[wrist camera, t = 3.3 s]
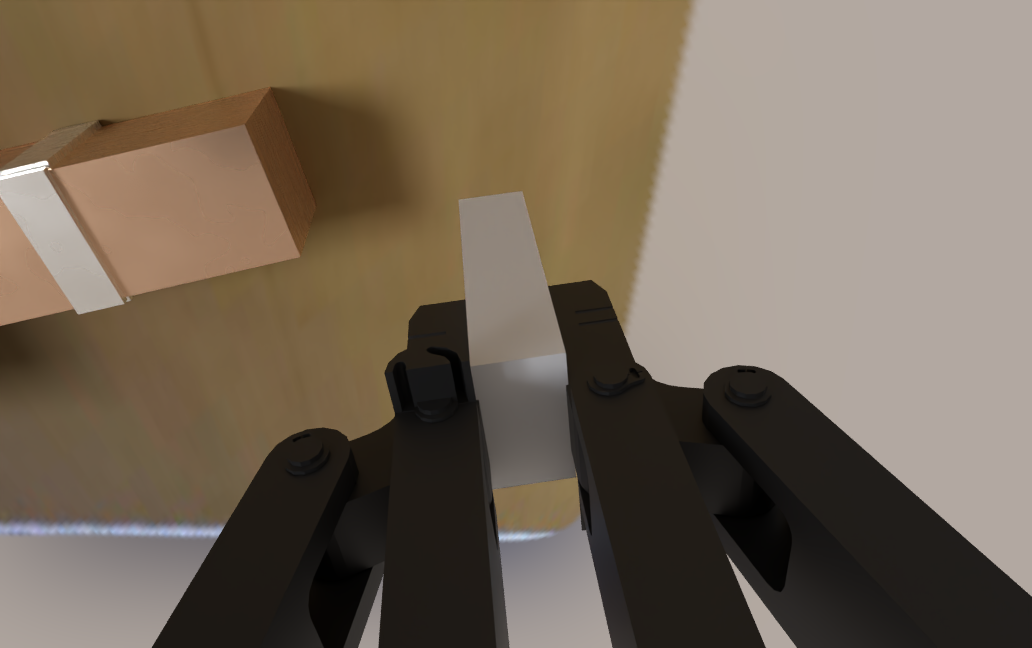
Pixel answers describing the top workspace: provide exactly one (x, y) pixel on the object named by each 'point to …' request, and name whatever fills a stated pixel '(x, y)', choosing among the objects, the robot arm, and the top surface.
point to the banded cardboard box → (148, 205)
